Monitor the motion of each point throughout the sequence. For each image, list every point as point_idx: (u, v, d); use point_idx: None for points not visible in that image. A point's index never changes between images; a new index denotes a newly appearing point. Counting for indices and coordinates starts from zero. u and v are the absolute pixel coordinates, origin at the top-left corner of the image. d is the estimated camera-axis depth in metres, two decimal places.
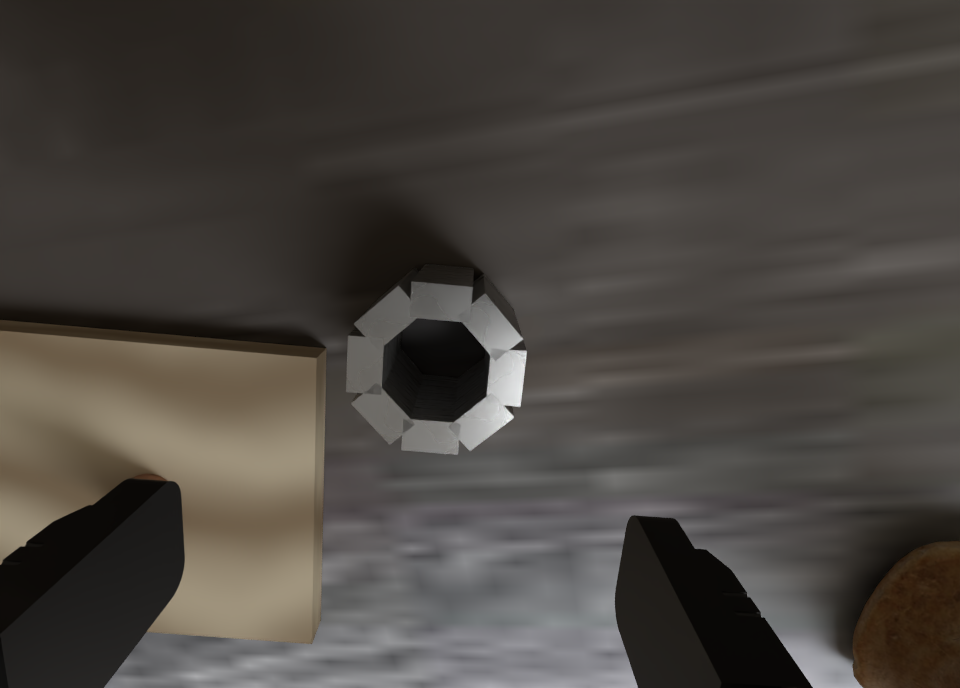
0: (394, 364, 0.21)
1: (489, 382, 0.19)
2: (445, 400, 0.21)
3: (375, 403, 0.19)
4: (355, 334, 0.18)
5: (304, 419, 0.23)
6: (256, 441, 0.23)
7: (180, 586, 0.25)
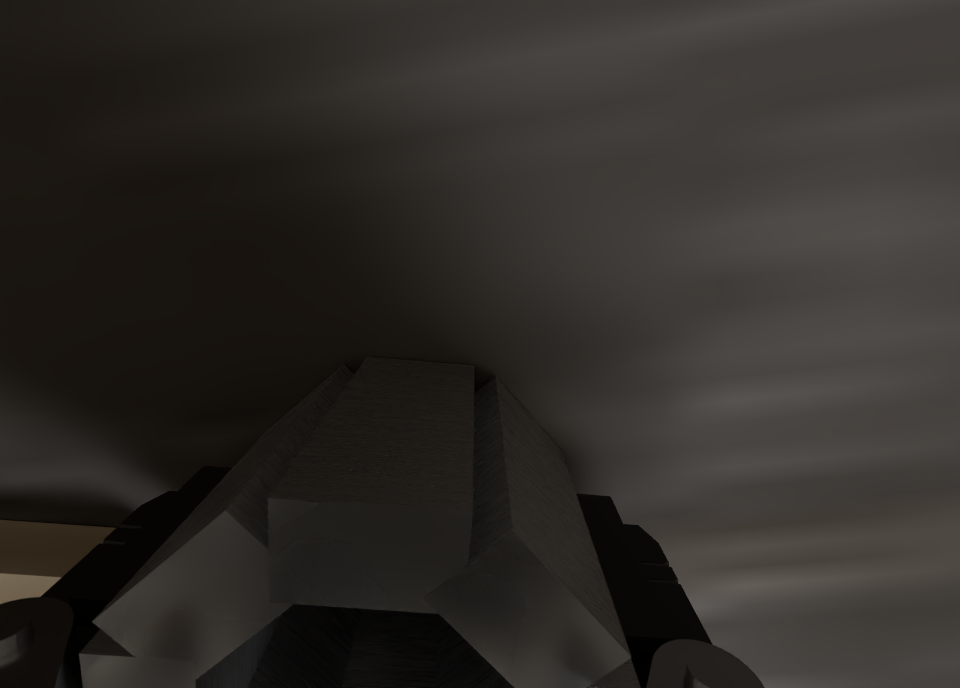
0: (286, 610, 0.09)
1: None
2: None
3: None
4: (111, 639, 0.06)
5: None
6: None
7: None
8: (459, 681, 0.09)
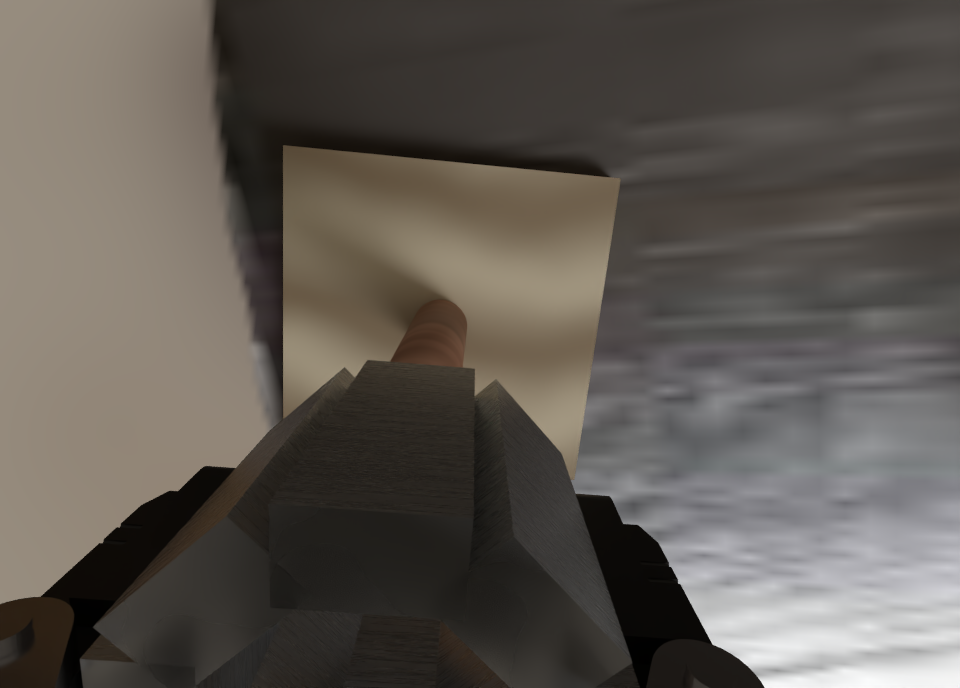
0: None
1: None
2: None
3: None
4: (112, 644, 0.06)
5: (599, 243, 0.24)
6: (550, 266, 0.24)
7: None
8: (460, 685, 0.09)
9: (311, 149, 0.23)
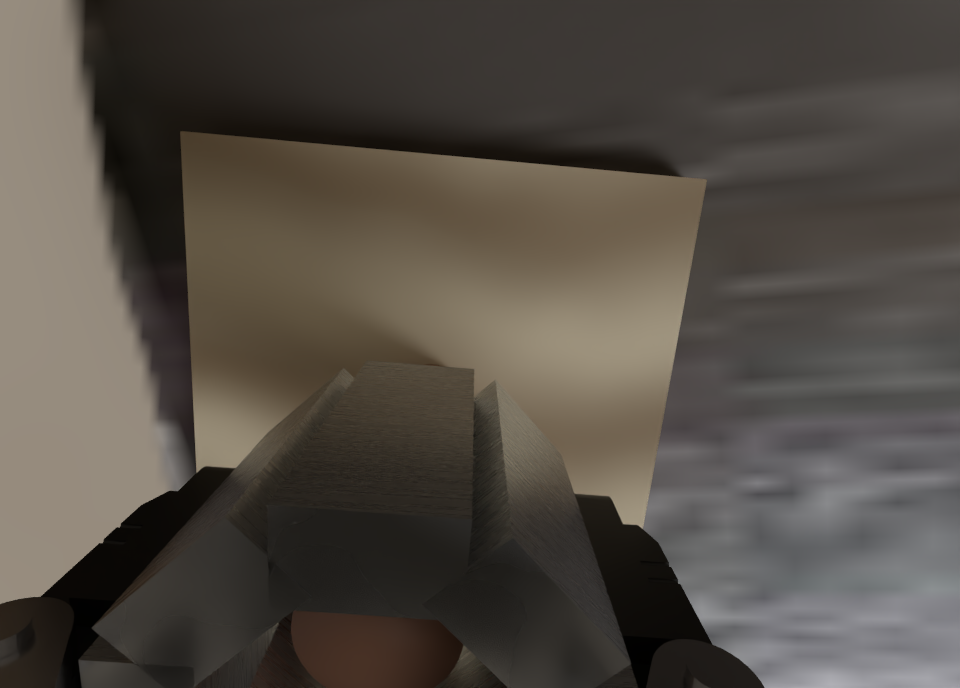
0: None
1: None
2: None
3: None
4: (110, 645, 0.06)
5: (672, 278, 0.15)
6: (595, 313, 0.16)
7: None
8: (459, 685, 0.09)
9: (225, 137, 0.14)
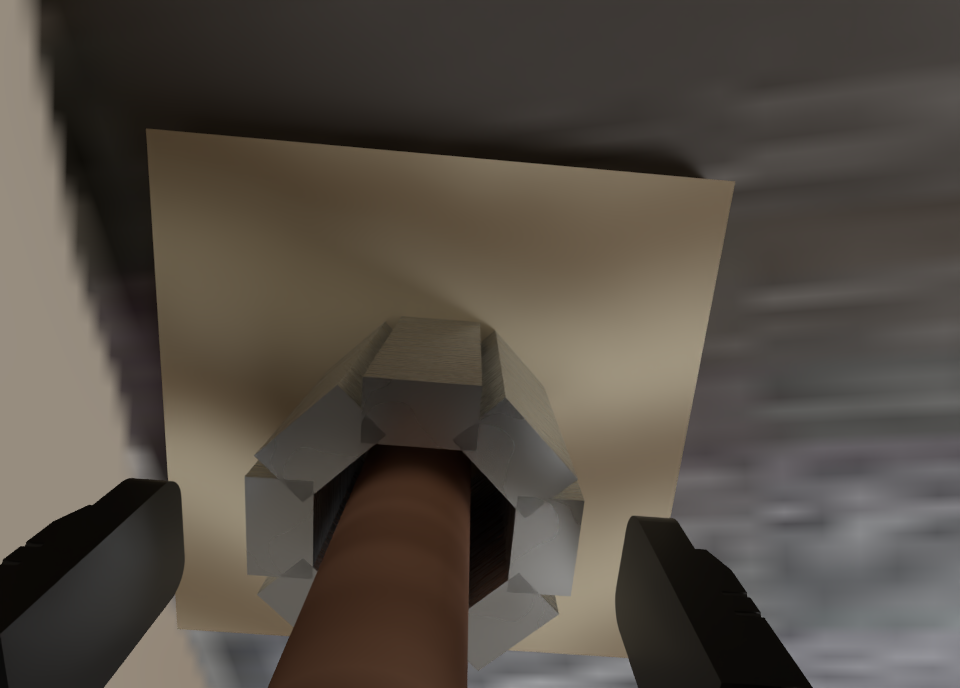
0: (348, 490, 0.13)
1: (514, 556, 0.10)
2: None
3: (302, 593, 0.10)
4: (260, 471, 0.10)
5: (695, 291, 0.14)
6: (610, 330, 0.14)
7: None
8: (470, 536, 0.13)
9: (196, 135, 0.13)
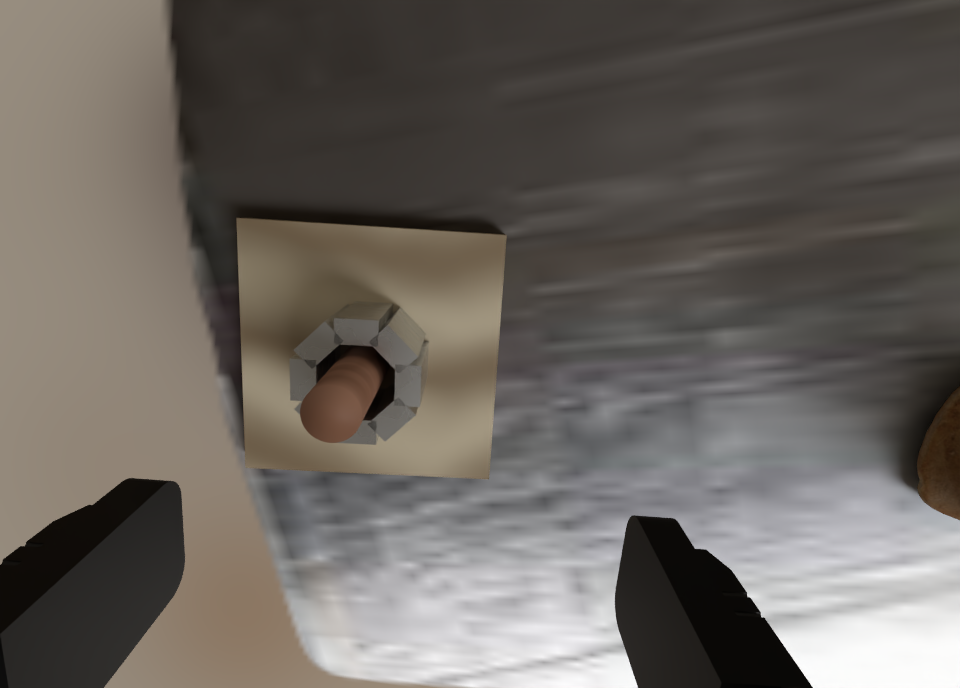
0: None
1: (395, 389, 0.25)
2: (370, 405, 0.28)
3: None
4: (295, 357, 0.25)
5: (494, 285, 0.29)
6: (455, 305, 0.30)
7: None
8: (386, 397, 0.28)
9: (259, 220, 0.28)
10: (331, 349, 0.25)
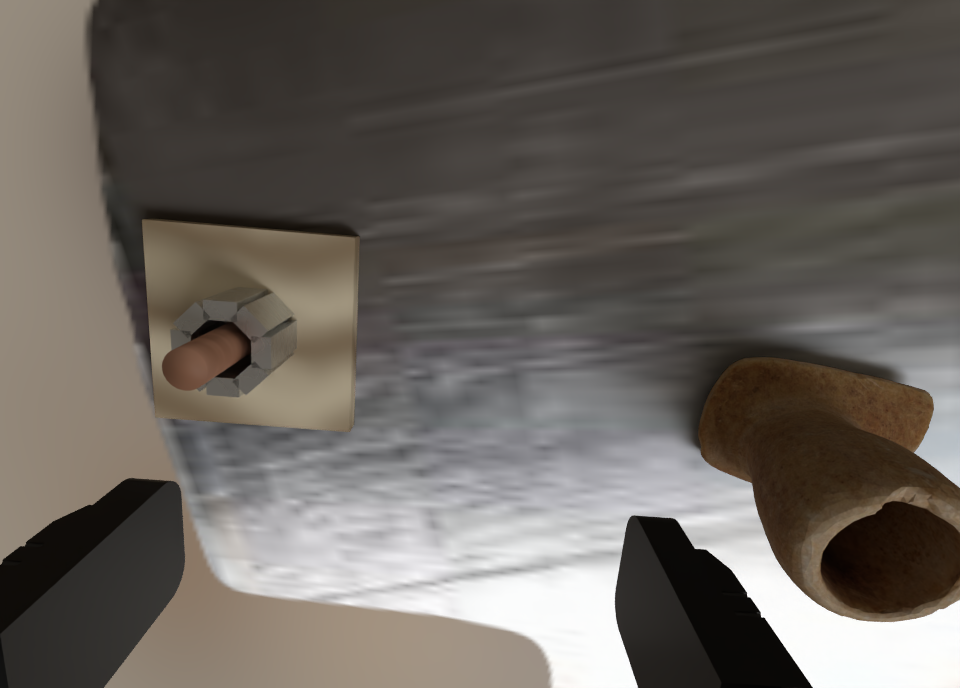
0: None
1: (251, 355, 0.33)
2: (242, 368, 0.36)
3: None
4: (175, 329, 0.33)
5: (347, 277, 0.37)
6: (317, 292, 0.37)
7: (266, 391, 0.39)
8: None
9: (159, 221, 0.36)
10: (201, 323, 0.33)
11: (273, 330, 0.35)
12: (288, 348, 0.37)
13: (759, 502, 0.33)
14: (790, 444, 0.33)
